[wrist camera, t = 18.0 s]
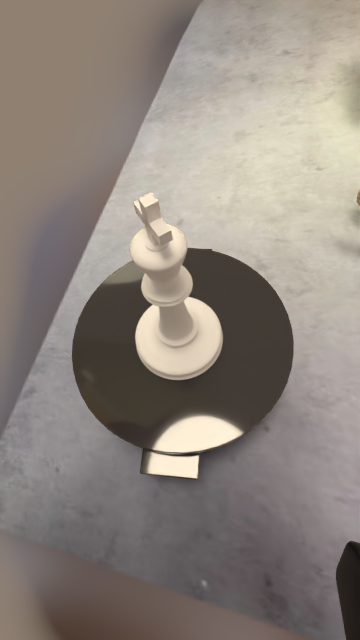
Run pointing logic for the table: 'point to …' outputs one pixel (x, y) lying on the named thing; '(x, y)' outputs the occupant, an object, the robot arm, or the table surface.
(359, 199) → the toy figure
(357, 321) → the table surface
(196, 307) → the chess piece
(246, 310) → the pot
